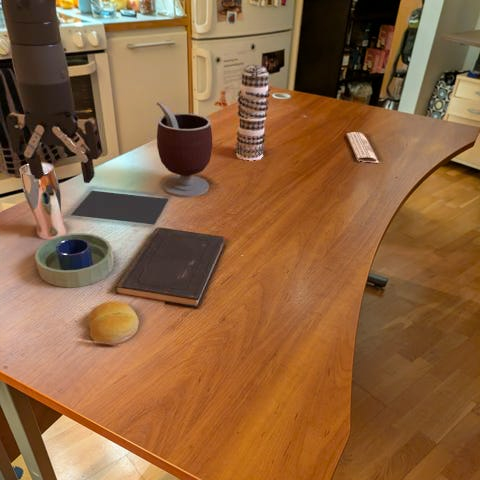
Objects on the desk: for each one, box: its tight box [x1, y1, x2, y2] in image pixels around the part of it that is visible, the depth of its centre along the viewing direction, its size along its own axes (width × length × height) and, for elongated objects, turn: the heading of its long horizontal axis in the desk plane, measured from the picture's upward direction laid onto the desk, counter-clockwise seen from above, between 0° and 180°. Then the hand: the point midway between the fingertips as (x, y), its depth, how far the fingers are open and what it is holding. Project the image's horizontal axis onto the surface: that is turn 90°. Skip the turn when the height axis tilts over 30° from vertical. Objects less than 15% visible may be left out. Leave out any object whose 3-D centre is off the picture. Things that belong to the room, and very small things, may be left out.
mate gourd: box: [156, 101, 213, 198], centre depth 118 cm, size 16×14×20 cm
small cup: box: [56, 238, 93, 271], centre depth 91 cm, size 6×6×5 cm
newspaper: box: [346, 131, 380, 164], centre depth 153 cm, size 24×7×2 cm, turn 178°
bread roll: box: [87, 300, 140, 345], centre depth 78 cm, size 8×9×4 cm
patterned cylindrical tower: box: [235, 64, 271, 162], centre depth 136 cm, size 9×9×25 cm
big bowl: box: [34, 232, 114, 289], centre depth 91 cm, size 14×14×4 cm
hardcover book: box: [114, 226, 226, 309], centre depth 93 cm, size 16×23×2 cm
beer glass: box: [19, 161, 67, 240], centre depth 97 cm, size 7×7×15 cm
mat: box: [70, 190, 169, 225], centre depth 112 cm, size 20×16×1 cm
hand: (63, 179), depth 79 cm, fingers open, 8 cm apart
